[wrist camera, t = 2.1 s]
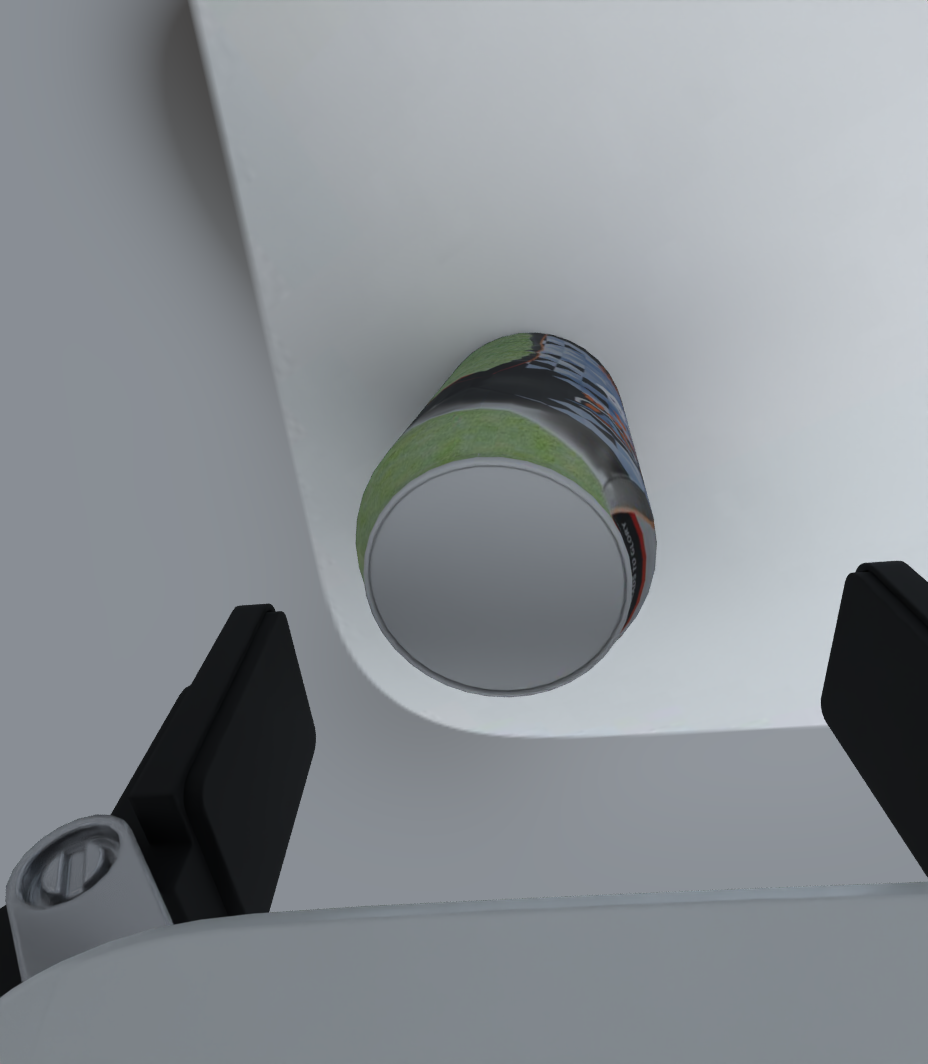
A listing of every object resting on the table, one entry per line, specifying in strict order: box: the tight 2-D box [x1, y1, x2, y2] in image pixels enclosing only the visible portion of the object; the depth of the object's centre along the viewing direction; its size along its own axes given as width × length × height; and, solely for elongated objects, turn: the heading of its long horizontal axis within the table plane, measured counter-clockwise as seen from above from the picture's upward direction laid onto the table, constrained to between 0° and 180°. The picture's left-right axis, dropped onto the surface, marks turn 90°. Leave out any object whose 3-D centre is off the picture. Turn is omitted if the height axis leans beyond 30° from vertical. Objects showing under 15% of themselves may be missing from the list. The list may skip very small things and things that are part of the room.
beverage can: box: [356, 333, 657, 697], centre depth 17 cm, size 6×7×12 cm
